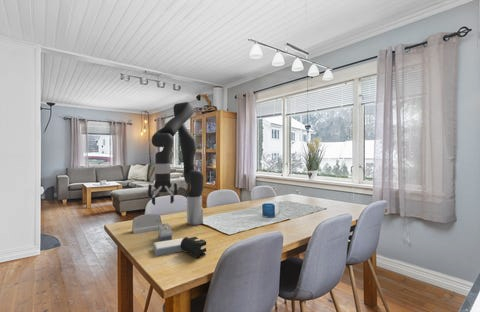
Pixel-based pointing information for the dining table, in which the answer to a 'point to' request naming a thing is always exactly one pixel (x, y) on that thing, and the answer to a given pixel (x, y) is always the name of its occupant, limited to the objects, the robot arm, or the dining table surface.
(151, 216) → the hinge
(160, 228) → the housing
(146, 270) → the dining table surface
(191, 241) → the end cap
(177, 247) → the stand
